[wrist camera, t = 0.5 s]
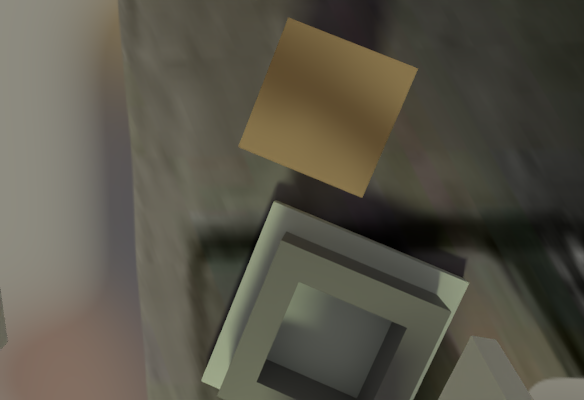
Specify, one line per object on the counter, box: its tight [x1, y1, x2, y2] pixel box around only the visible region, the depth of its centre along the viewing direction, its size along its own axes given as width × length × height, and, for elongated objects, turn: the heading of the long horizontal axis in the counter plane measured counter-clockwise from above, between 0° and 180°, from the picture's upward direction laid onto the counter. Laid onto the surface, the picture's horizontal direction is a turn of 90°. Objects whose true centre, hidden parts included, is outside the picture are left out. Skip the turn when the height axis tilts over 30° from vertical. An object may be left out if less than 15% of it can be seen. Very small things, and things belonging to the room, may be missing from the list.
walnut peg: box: [239, 17, 418, 198], centre depth 27 cm, size 6×6×18 cm
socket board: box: [201, 200, 469, 400], centre depth 34 cm, size 18×18×6 cm
